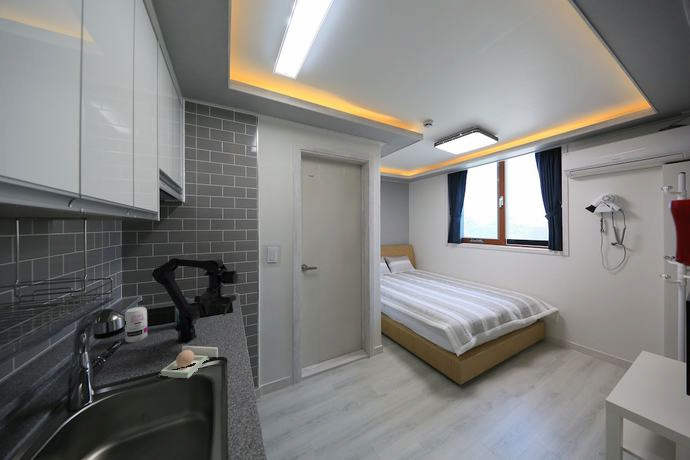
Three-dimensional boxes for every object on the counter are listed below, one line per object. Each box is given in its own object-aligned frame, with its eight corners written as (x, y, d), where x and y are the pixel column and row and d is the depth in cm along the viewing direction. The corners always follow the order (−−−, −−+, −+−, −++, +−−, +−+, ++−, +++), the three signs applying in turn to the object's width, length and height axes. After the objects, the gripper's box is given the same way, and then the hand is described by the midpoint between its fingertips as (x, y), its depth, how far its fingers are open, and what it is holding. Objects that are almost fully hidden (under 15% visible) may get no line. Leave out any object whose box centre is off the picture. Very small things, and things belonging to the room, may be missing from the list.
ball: (172, 370, 90) (171, 355, 90) (184, 361, 96) (183, 346, 96) (186, 370, 89) (186, 355, 89) (198, 361, 95) (197, 347, 95)
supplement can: (138, 334, 120) (138, 305, 120) (151, 335, 118) (151, 307, 118) (120, 342, 112) (120, 311, 112) (134, 344, 110) (133, 312, 110)
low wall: (182, 355, 101) (181, 346, 101) (183, 354, 102) (183, 345, 102) (216, 357, 99) (216, 348, 99) (217, 356, 100) (217, 347, 100)
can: (178, 328, 127) (178, 301, 127) (173, 325, 130) (173, 299, 130) (190, 324, 132) (190, 298, 132) (185, 321, 135) (185, 296, 135)
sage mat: (158, 376, 87) (158, 371, 87) (183, 358, 99) (183, 353, 99) (188, 378, 86) (188, 373, 86) (209, 359, 98) (209, 355, 98)
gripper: (185, 288, 108) (185, 321, 108) (223, 289, 106) (223, 322, 107) (201, 282, 119) (202, 312, 119) (236, 283, 117) (236, 313, 118)
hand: (215, 315), depth 115 cm, fingers open, 9 cm apart
